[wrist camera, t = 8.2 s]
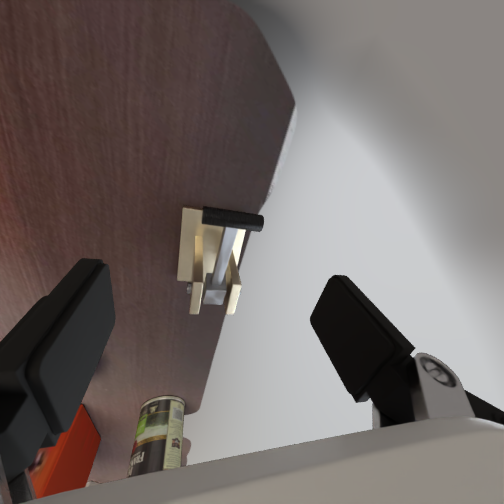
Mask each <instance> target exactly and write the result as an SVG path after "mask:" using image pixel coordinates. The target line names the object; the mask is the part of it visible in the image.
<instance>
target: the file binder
mask: <svg viewBox="0 0 504 504" xmlns="http://www.w3.org/2000/svg"><path fill="white" fill-rule="evenodd" d="M100 441H101V438H100V436H99V434H98V432H97V431H96V429H95V427H94V425H93V423H92V421H91V419H90V417H89V416H88V414H87V412H86V410H85V408H84V406H83V404H82V405H81V404H80V406H79V409H78V411H77V413H76V416H75V418H74V420H73V423H72V425H71V427H70V428H69V430H68V431H67V432H64V433H61V435H60V437H59V439H58V441H57V444H56V446H54V447H48V448H41V449H39V450H38V452H37V454H36V457H35V459H34V461H33V463H32V464H31V465H30V466H29V467H27V468H28V471H29V474H30V477H31V480H32V484H33V487H34V490H35V493H36V496H37V499H39V498H43V497H46V496H50V495H54V494H58V493H61V492H66V491H70V490H75V489H80V488H84V487H85V486H86V483H87V480H88V477H89V474H90V471H91V468H92V465H93V462H94V459H95V456H96V453H97V450H98V447H99V444H100Z"/></svg>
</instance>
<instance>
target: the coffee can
mask: <svg viewBox="0 0 504 504" xmlns="http://www.w3.org/2000/svg"><path fill="white" fill-rule="evenodd" d="M184 406H185V402H184V401H183V400H182V399H181V398H179V397H175V396H161V397H156V398H153V399H151V400H149V401H147V402H145V403H144V404H143V405H142V407H141V412H140V417H139V421H138V426H137V431H136V436H135V441H134V445H133V450H132V455H131V459H130V464H129V469H128V474H127V478H130V477H134V476H139V475H143V474H148V473H153V472H158V471H163V470H168V469H173V468H178V467H181V456H182V439H183V421H184Z"/></svg>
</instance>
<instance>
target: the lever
mask: <svg viewBox="0 0 504 504" xmlns="http://www.w3.org/2000/svg"><path fill="white" fill-rule="evenodd" d="M201 223H202V224H204V225H212V226H219V227H223V231H222V235H221V240H220V244H219V248H218V252H217V256H216V261H215V265H214V269H213V273H206V277H205V282H204V287H203V304H222V303H223V300H224V297H225V294H226V291H227V290H226V274H225V271H226V268H227V265H228V261H229V258H230V255H231V252H232V248H233V245H234V242H235V238H236V235H237V232H238V229H242V230H249V231H258V232H260V231H261V230H262V228H263V225H264V217H263V216H262V215H257V214H251V213H245V212H238V211H232V210H226V209H219V208H213V207H207V206H203V211H202V220H201Z"/></svg>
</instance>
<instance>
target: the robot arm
mask: <svg viewBox="0 0 504 504" xmlns="http://www.w3.org/2000/svg"><path fill="white" fill-rule="evenodd" d="M310 322H311V325H312V327H313V329H314V330H315V333H316V334H317V336H318V338H319V340H320V342H321V344H322V345H323V347H324V349H325V351H326V353H327V355H328V356H329V358H330V360H331V362H332V364H333V366H334V367H335V369H336V371H337V373H338V375H339V376H340V378H341V380H342V382H343V384H344V386H345V387H346V389H347V391H348V392H349V393H350V394H351V395H352V396H353V398H354V400H355V401H356V403H358V402H365V401H367V400H368V399H369V398H371V400H372V402H373V404H372V406H373V410H372V411H373V429H372V430H367V431H362V432H357V433H351V434H346V435H341V436H336V437H331V438H325V439H320V440H315V441H310V442H305V443H300V444H294V445H289V446H284V447H279V448H274V449H269V450H264V451H259V452H253V453H249V454H243V455H238V456H233V457H228V458H223V459H219V460H213V461H209V462H203V463H198V464H193V465H188V466H183V467H178V468H173V469H168V470H163V471H158V472H153V473H148V474H143V475H139V476H134V477H130V478H125V479H121V480H116V481H111V482H107V483H102V484H98V485H93V486H89V487H84V488H80V489H75V490H70V491H66V492H61V493H58V494H54V495H50V496H46V497H43V498H39V499H37V496H36V493H35V490H34V487H33V484H32V480H31V477H30V474H29V471H28V468H27V467H29V466H30V465H31V464H32V463H33V461H34V459H35V457H36V454H37V452H38V450H39V449H41V448H48V447H54V446H56V444H57V441H58V439H59V437H60V435H61V433H64V432H67V431H68V430H69V428H70V427H71V425H72V423H73V420H74V418H75V416H76V413H77V411H78V409H79V406H80V404H81V402H82V399H83V397H84V395H85V392H86V390H87V388H88V385H89V383H90V381H91V378H92V376H93V374H94V371H95V369H96V367H97V364H98V362H99V360H100V357H101V355H102V353H103V350H104V348H105V346H106V343H107V341H108V339H109V336H110V334H111V332H112V329H113V327H114V324H115V310H114V302H113V294H112V286H111V278H110V270H109V265H108V264H104V263H103V261H102V260H101V259H85V258H82V259H80V260H79V261H78V262H77V263H76V264H75V266H74V267H73V268H72V269H71V270H70V271H69V272H68V274H67V275H66V276H65V277H64V278H63V279H62V280H61V281H60V283H59V284H58V285H57V286H56V287H55V288H54V289H53V290H52V292H51V293H50V294H49V295H48V296H44V297H42V298H41V299H40V300H39V301H37V303H36V304H35V305H34V306H33V307H32V308H31V309H30V310H29V311H28V312H27V313H26V315H25V316H24V317H23V318H22V319H21V320H20V321H19V322H18V323H17V324H16V325H15V327H14V328H13V329H12V330H11V331H10V332H9V333H8V334H7V335H6V336H5V338H4V339H3V340H2V341H1V342H0V504H504V412H503V411H501V410H500V409H498V408H496V407H494V406H493V405H491V404H489V403H487V402H485V401H484V400H482V399H480V398H478V397H476V396H475V395H473V394H471V393H469V392H468V391H466V390H464V388H463V386H462V384H461V382H460V380H459V378H458V377H457V376H456V374H455V373H454V372H453V371H452V370H451V369H450V368H449V367H448V366H447V365H445V364H444V363H443V362H442V361H440V360H439V359H437V358H435V357H433V356H431V355H429V354H426V353H417V354H416V355H415V356H414V357H412V356H411V355H410V354H411V353H412V351H413V350H414V349H415V347H414V346H413V345H412V344H411V343H410V342H409V341H408V340H407V339H406V338H405V337H404V336H403V335H402V333H401V332H399V330H398V329H397V328H396V327H395V326H394V325H393V324H392V323H391V322H390V321H389V320H388V319H387V318H386V317H385V316H384V314H383V313H382V312H380V310H379V309H378V308H377V307H376V306H375V305H374V304H373V303H372V302H371V301H370V300H369V299H368V298H367V297H366V296H365V294H364V293H363V292H362V291H361V290H360V289H359V288H358V287H357V286H356V285H355V284H354V283H353V282H352V281H351V280H350V279H349V278H348V277H347V276H344V275H343V276H342V275H334V276H332V277H331V278H330V279H329V280H328V282H327V284H326V286H325V288H324V290H323V292H322V294H321V296H320V298H319V300H318V302H317V304H316V306H315V309H314V310H313V312H312V315H311V317H310Z"/></svg>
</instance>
